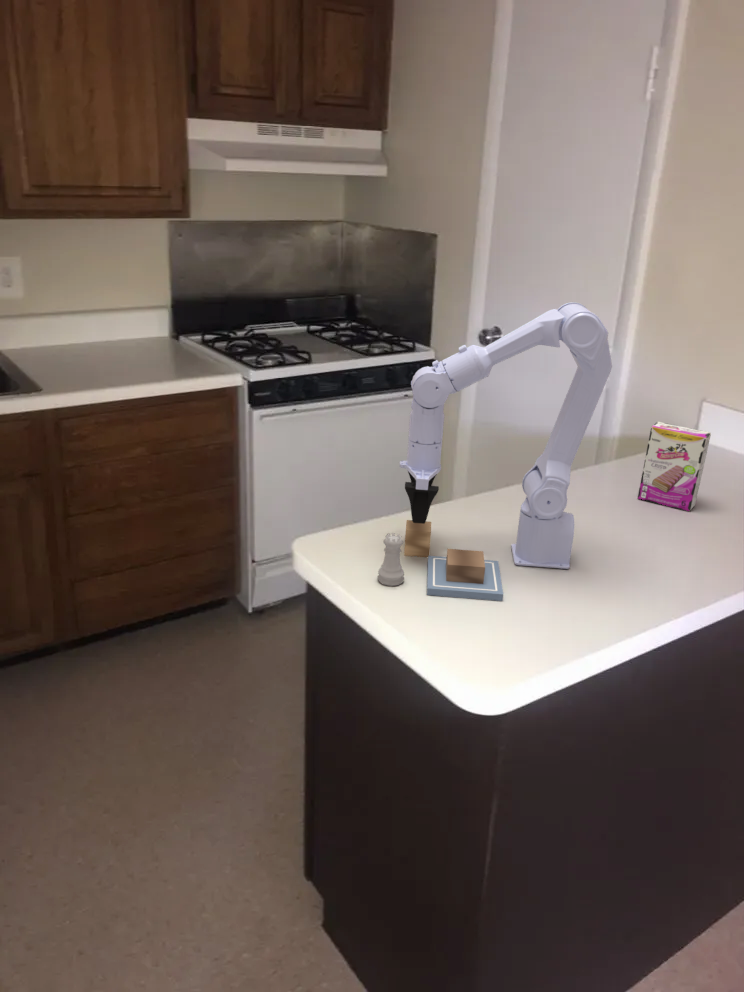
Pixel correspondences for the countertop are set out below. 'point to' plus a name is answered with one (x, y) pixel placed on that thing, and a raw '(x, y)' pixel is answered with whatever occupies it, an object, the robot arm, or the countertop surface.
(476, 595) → the board
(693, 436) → the candy bar box
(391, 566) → the rook chess piece
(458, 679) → the countertop surface
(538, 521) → the robot arm
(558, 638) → the countertop surface
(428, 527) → the oak block
